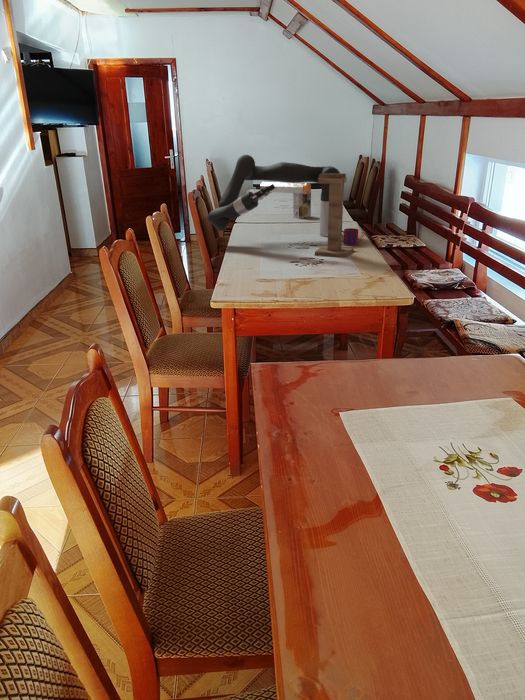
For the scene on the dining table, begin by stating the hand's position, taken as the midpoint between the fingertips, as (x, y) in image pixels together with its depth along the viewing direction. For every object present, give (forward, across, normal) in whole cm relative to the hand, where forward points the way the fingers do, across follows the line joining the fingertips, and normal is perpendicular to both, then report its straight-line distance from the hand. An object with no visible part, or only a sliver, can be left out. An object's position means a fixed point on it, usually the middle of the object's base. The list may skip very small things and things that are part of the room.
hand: (275, 185), depth 237 cm
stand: (+10, 0, +38) cm, 39 cm away
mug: (+11, +20, +39) cm, 45 cm away
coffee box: (-27, +86, +17) cm, 92 cm away
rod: (+2, +1, +5) cm, 5 cm away
